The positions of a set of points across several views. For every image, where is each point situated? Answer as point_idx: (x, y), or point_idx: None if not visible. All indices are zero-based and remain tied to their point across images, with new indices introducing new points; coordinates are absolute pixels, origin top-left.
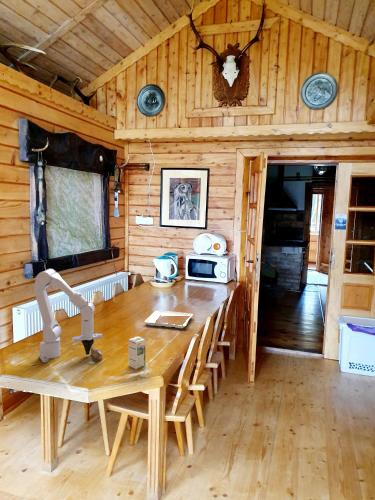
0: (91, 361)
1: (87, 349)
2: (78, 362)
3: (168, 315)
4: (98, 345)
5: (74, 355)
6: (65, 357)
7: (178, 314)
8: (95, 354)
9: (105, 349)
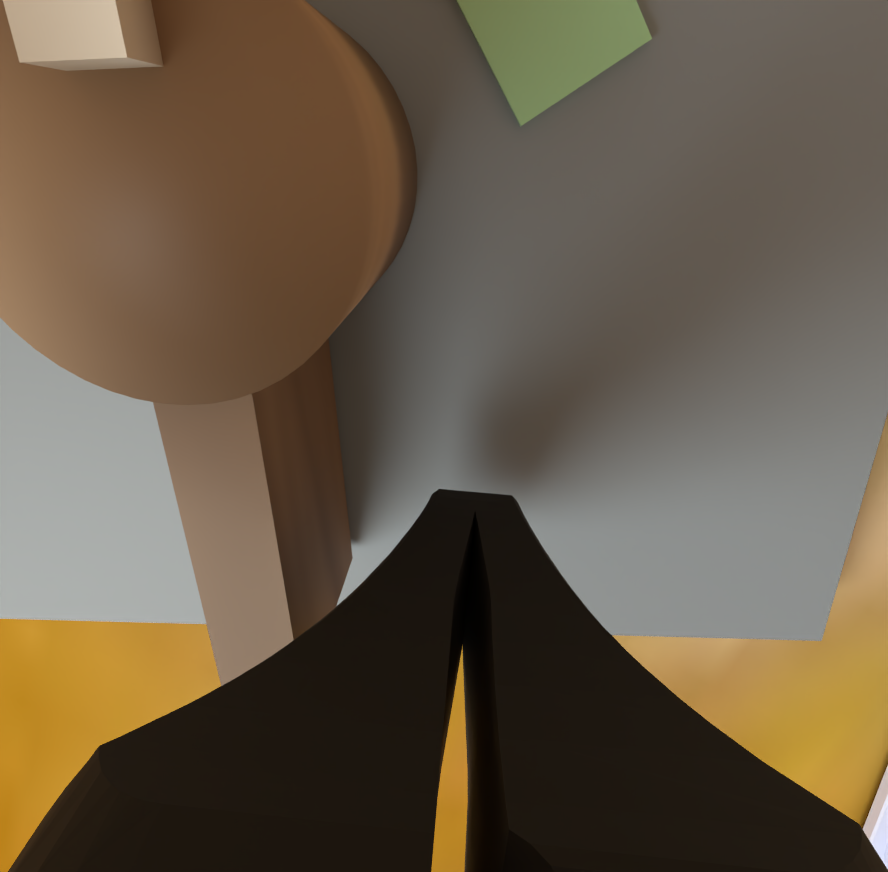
0: (509, 79)
1: (509, 576)
2: None
3: None
4: None
5: None
6: (824, 732)
7: None
8: (316, 20)
9: (8, 688)
